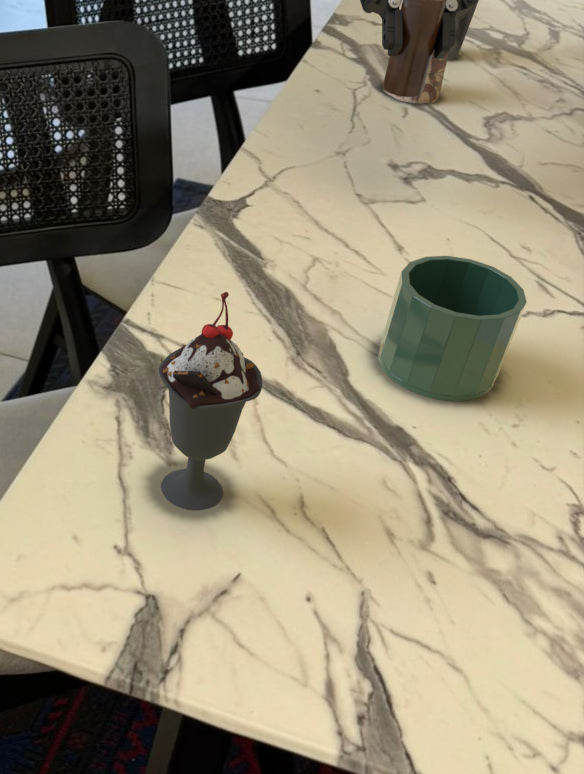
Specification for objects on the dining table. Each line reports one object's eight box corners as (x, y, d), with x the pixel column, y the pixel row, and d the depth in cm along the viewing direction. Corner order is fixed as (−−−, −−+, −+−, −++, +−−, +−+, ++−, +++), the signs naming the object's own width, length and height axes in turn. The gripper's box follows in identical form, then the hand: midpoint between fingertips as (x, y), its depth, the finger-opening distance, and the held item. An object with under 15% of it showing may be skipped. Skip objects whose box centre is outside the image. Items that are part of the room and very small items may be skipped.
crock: (507, 364, 87) (539, 281, 82) (473, 419, 81) (506, 333, 76) (400, 325, 91) (425, 243, 85) (360, 375, 84) (384, 290, 79)
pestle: (428, 89, 103) (453, -6, 98) (414, 100, 101) (439, 4, 95) (390, 79, 105) (413, -15, 99) (376, 90, 102) (398, -6, 96)
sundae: (212, 453, 75) (244, 273, 65) (254, 513, 71) (295, 329, 61) (129, 470, 73) (149, 287, 63) (167, 533, 69) (194, 346, 59)
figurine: (379, 99, 132) (403, 1, 124) (386, 81, 137) (409, -14, 130) (435, 109, 131) (463, 11, 123) (439, 91, 136) (467, -5, 128)
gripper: (358, -147, 96) (358, 30, 94) (506, -138, 97) (508, 38, 95) (335, -97, 103) (335, 68, 102) (472, -88, 104) (474, 75, 103)
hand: (418, 53), depth 99 cm, fingers closed on pestle, 4 cm apart
